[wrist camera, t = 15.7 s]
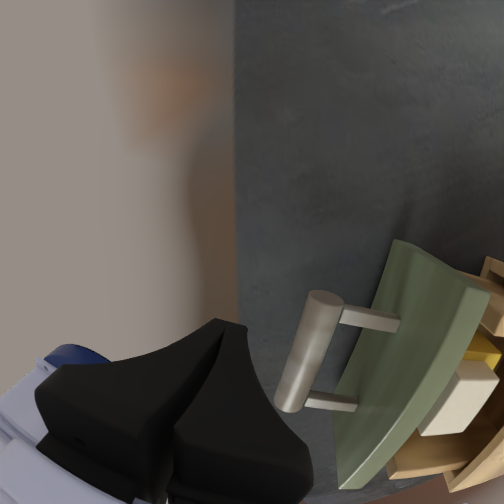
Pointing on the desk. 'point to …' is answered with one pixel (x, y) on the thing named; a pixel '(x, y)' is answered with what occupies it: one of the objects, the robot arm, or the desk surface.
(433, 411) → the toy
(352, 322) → the drawer
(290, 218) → the desk surface
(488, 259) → the cabinet
